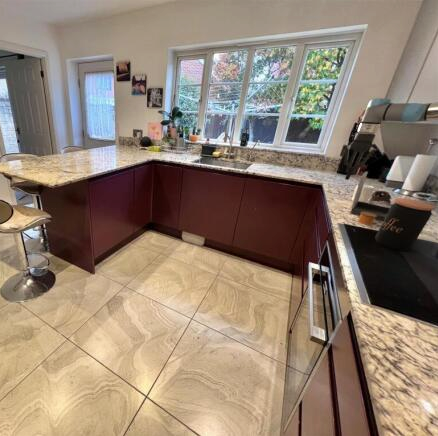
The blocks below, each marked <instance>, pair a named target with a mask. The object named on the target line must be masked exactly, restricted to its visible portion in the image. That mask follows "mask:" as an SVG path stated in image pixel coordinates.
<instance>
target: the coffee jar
mask: <svg viewBox="0 0 438 436" xmlns="http://www.w3.org/2000/svg"><path fill="white" fill-rule="evenodd" d="M393 202H394V203H393V204H391V206H390V207H389V208H390V209H389V211H388V213H387V215H386V217H385V219H384V221H382V223H381V225H380V226H379V228H378V230H377V232H376V234H375V236H374V238H375V241H376V243H378V244H379V245H381V246H383V247H386V248H389V249H390V250H391V249H392V250H396V251H402V252H403V251H408V250H411V249H412V248H413V246H414V245H415V243H416V241H417V240H418V238H419V236H420V235H421V233H422V231H423V230H424V228H425V226H426V225H427V224H428V222H429V220H430V218H431V216H432V215H433V213H432V212H433V211H434V210H436V208H437V207H436V206H435V205H433V204H432V203H428V202H426V201H421V200H417V199H413V198H405V197H395V198H394V200H393Z"/></svg>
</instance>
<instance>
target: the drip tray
mask: <svg viewBox="0 0 438 436" xmlns="http://www.w3.org/2000/svg"><path fill="white" fill-rule="evenodd" d="M389 209H390V207H387V206H383V205H379V204H374V203H371V202H370V203H369V202H366V203H365V202H360V201H358V202H357V203H356V205H355V206H354V208H351V210H350V215H355V216H359V217H360V215H361V212H369V213H373V214H375V215H377V217H375V219H374V221H379V222H383V221H384V219H385V217H386V215H387V213H388V211H389Z"/></svg>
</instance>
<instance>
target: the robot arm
mask: <svg viewBox="0 0 438 436" xmlns="http://www.w3.org/2000/svg"><path fill="white" fill-rule="evenodd" d="M428 121H438V102H430V103H429V102H428V103H427V102H426V103H422V102H421V103H418V102H404V103H402V102H400V103H399V102H397V103H395V102H392V99H391V98H384V97H383V98H379V97H377V98H372V99H370V100H369V101H368V104H367V106H366V108H365V111H364V114H363V116H362V119H361V121H360V124H359V126H358V128H357V133H356V134H355V136H354V138H353V141H352V142H351V143H350V144H349V145H345V146H344V151H345V152H344V161H343V165H344V166H346V169H345V171H344V172H345V173H346V175H345V178H344V180H346V181H348V180H350V178H351V176H352V174H353V175H354V174H355V173H356V170H357V169H358V168H361V167H363V166H364V165H365V164H366V162H367V161H368V159H369V158H370V157H371V156H372V154H373V153H375V152H376V151H377V149H376V148H374V146H373V142H374V140H375V138H376V136H377V135H376V134H377V133H378V131H379V129H380V126H381V125H382V122H397V123H398V122H399V123H400V122H401V123H417V122H418V123H419V122H428ZM351 149H352V151H353V152H352V154H351V157H350V159H349V153H350V150H351ZM367 151H368V153H367V154H366V156H365V157H364V158H363V159H362V157H363V155H364V153H365V152H367ZM357 153H358V155H357ZM356 155H357V158H356ZM355 158H356V160H355ZM354 160H355V163H354ZM361 160H362V161H361ZM360 161H361V162H360ZM353 163H354V164H353ZM352 164H353V165H352Z"/></svg>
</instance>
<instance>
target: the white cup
mask: <svg viewBox="0 0 438 436" xmlns="http://www.w3.org/2000/svg"><path fill="white" fill-rule="evenodd" d="M358 185H359V183H357V184H356V186H355V188H354V191H353V194H352V197H351V202H353V201H354V198H355V195H356V191H357V188H358ZM374 190H375V186H372V185H370V184H364V185H363V188H362V191H361V194H360V198H359V200H358V201H360V202H365V203H367V201H368V200H369V199H370V197H371V195H372V194H373V191H374Z"/></svg>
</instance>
